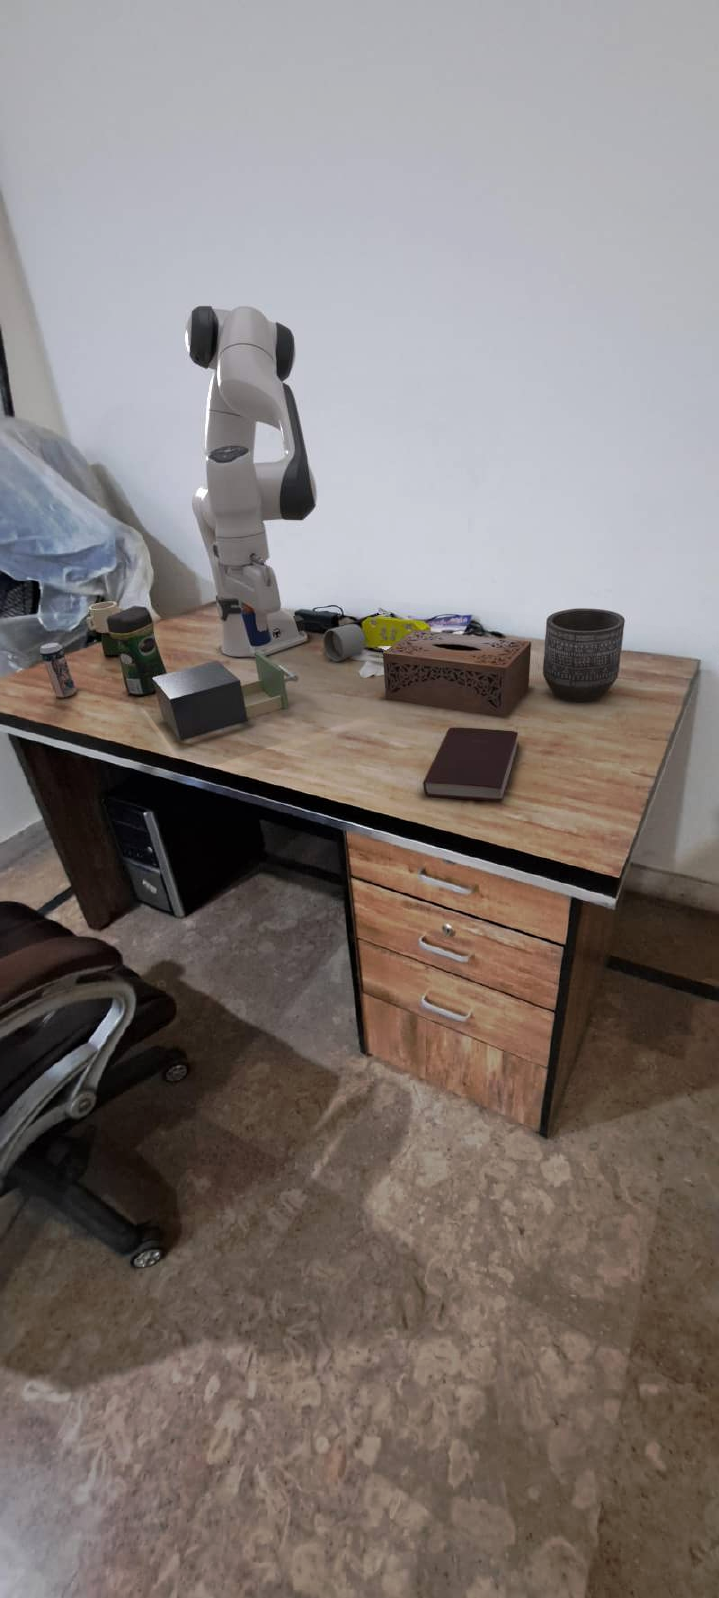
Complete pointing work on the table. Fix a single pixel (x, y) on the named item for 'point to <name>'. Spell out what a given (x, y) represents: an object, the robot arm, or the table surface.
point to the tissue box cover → (458, 671)
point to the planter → (582, 653)
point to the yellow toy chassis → (389, 630)
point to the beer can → (58, 669)
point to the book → (472, 764)
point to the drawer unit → (200, 699)
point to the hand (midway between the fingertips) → (255, 626)
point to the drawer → (267, 687)
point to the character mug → (103, 623)
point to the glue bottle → (253, 634)
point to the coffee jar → (136, 649)
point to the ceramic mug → (344, 641)
